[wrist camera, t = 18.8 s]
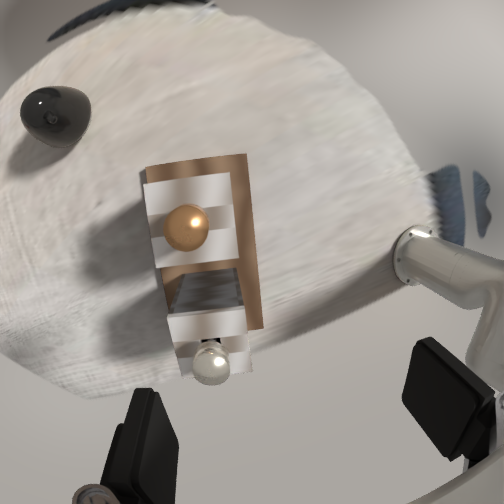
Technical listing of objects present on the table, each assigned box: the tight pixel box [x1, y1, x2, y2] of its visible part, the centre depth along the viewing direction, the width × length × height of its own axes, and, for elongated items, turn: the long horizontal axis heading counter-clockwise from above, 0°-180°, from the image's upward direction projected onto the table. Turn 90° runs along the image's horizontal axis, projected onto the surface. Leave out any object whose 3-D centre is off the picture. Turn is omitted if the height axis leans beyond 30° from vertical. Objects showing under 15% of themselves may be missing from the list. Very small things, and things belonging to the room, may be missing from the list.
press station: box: [143, 154, 264, 379], centre depth 40 cm, size 16×30×18 cm, turn 6°
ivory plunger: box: [192, 338, 230, 385], centre depth 39 cm, size 7×7×20 cm
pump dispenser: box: [20, 86, 92, 148], centre depth 33 cm, size 10×10×15 cm
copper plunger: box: [163, 203, 210, 252], centre depth 35 cm, size 7×7×20 cm
